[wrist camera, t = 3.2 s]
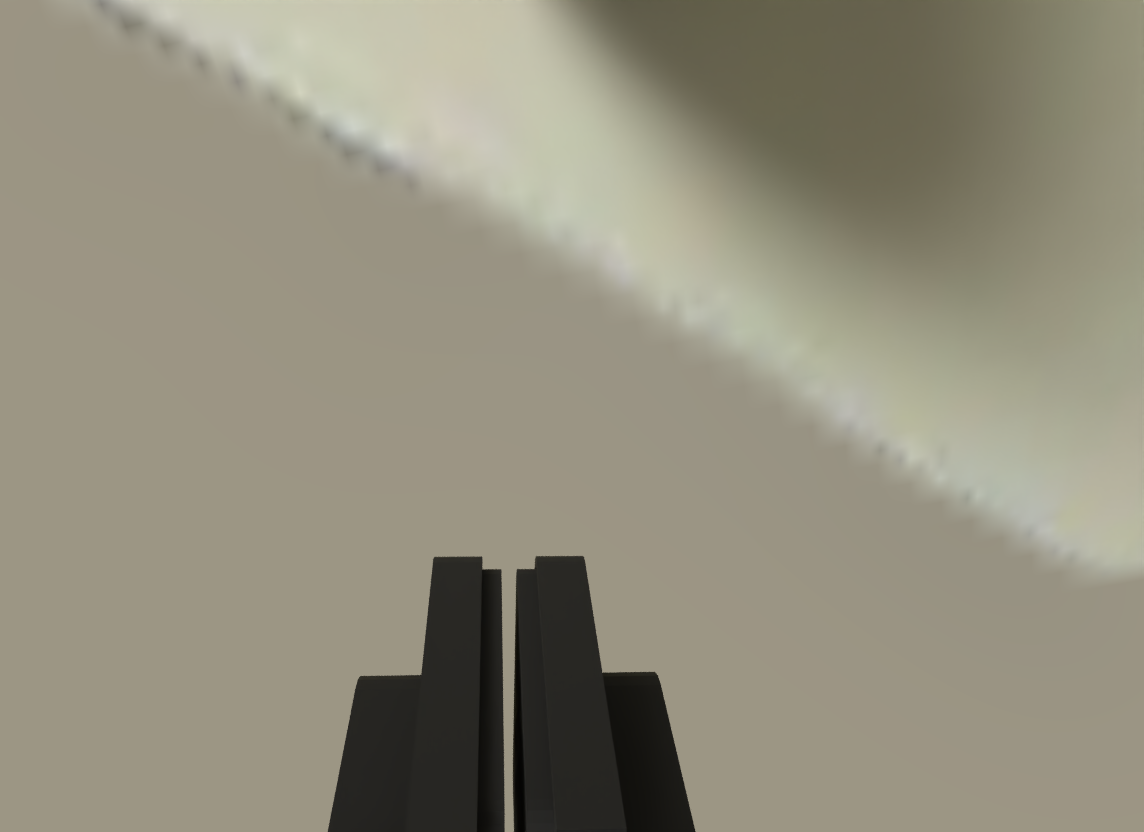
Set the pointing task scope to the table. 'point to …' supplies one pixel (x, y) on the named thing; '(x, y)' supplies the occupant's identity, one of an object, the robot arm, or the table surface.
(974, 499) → the table surface
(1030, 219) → the table surface
